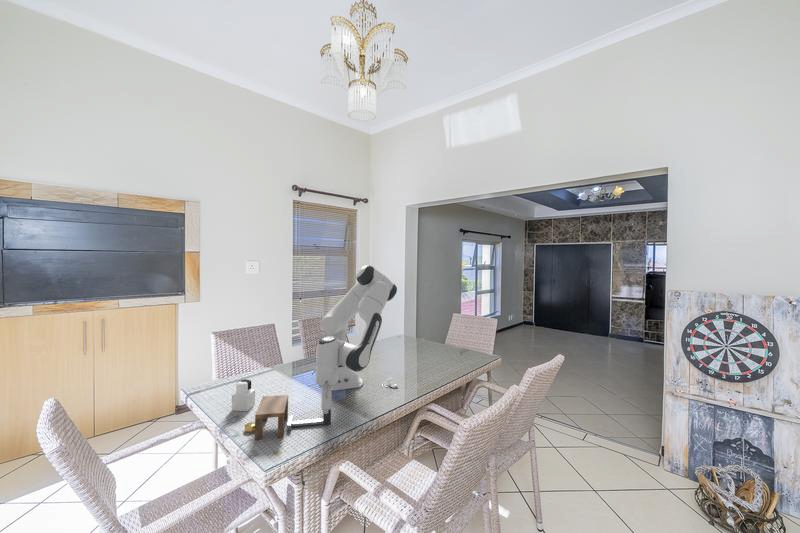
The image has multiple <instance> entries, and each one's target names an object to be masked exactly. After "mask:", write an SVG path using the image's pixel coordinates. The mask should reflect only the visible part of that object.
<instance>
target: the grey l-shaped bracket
mask: <svg viewBox="0 0 800 533" xmlns="http://www.w3.org/2000/svg"><path fill="white" fill-rule="evenodd" d="M322 415H323V417H322V418H312V419H311V418H310V419H301V420H300V419H299V420H294V415H293V414H292V415H288V419H287V423H286V432H288V433H290V432H292V428H293V427H300V426H301V427H303V426H313V425H323V426H327V425H331V424H332V408H331V409H330V410H328V414H324V410H322Z"/></svg>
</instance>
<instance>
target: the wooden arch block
mask: <svg viewBox="0 0 800 533" xmlns="http://www.w3.org/2000/svg"><path fill="white" fill-rule="evenodd" d="M273 418H277V439H281V438H282V439H283V438H284V437H285V420H287V421H288V419H289V394H285V395H283V394H281V395H280V394H279V395H266V396H264V395H263V396H262V397H261V400H260V403H259V406H258V407H257V410H256V412H255V416H254V422H255V432H254V440H255V441H259V440H261V439H262V437H263V436H262V432H263V431H262V429H263V422H268V419H273Z"/></svg>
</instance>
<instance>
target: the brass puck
mask: <svg viewBox="0 0 800 533" xmlns="http://www.w3.org/2000/svg"><path fill="white" fill-rule="evenodd" d="M244 432H245V433H247V434H253V433H255V421H251V422H248V423H246V424H245V425H244Z"/></svg>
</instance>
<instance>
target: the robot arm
mask: <svg viewBox="0 0 800 533" xmlns="http://www.w3.org/2000/svg"><path fill="white" fill-rule="evenodd" d="M356 281H357V282H356V283H355V284H354V285H353V286H352V287H351V288H350V289H349V290H348V292H347V293H346V294H344V296H343V297H342V298H341V299H340V300H339V301H338V302H337V303H336V304H335V305H334V306H333V307H332V308H331V309H330V310H329V311H328V312H327V313H326V314H325V315H324V316H323V317H322V319H321V320H320V323H319V328H320V330H321V332H322V333H323V334H325V335H326V336H324V337H322V338H320V339H319V340H318V343H317V345H316V351H315V361H316V367H315V384H316V385H318V388H321V404H320V405H321V411H323V410H324V414H328V410H330V409H331V410H332V394H333V393H332V392H333V391H340V390H341V391H342V390H348V389H349V390H350V389H356V388H361V387H362V386H363V385H364V384H363V383H364V382H363V381H364V380H363V378H361V377H360V376H359V372H362V371H363V370H364V369H365V368H366V367H367V366H368V365H369V363H370V360H371V355H372V351H373V348H374V346H375V343H376V340H377V337H378V335H379V331H380V329H381V326H382V323H383V319H382V313H383V310H384V308H385V306H386V304H387V302H389V301H391V300H392V299H393V298H394V297H395V296H396V295H397V292H398V287H397V285H396V284H395V283H394V282H393V281H392V280H391V279H389V277H387V275H385V274H383V273H382V272H380V271H379V270H377V269H376V268H375V267H373V266H371V265H369V264H365V265H364V266H362V267H361V268H360V269H359V270H358V272H357V273H356ZM357 314H358V315H359V317H360V318H361V319H362V320H363V321H364V322H365V323H366V324H365V325H366V326H365V329H364V332H363V335H362V336H361V339H360V341H359V343H358V344H354V343H351V342H348V341H347V335H348V332H349V329H348V328H349V323H350V321H351V320H352V319H353V318H354V317H355V316H357Z"/></svg>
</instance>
